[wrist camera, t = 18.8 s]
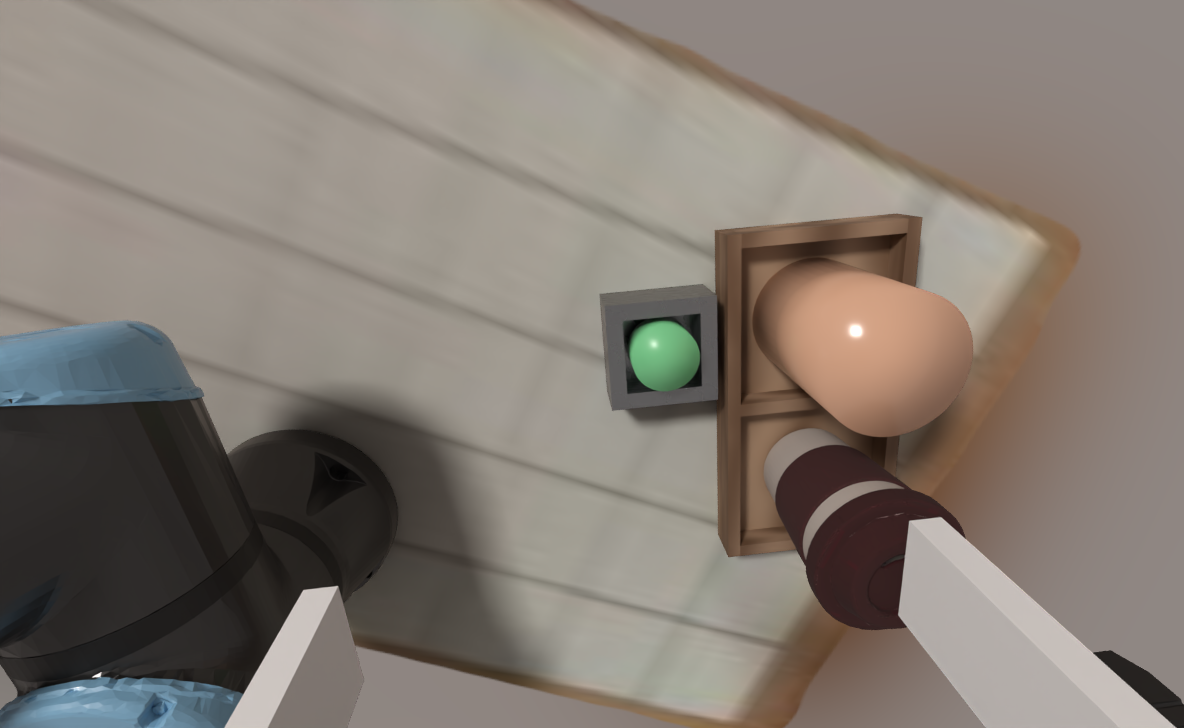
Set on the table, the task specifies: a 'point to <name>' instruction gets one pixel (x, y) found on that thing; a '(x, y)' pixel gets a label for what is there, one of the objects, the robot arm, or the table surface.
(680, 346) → the button
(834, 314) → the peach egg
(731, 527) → the divided tray
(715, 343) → the grey square frame
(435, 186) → the table surface
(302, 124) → the table surface
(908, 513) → the coffee cup
